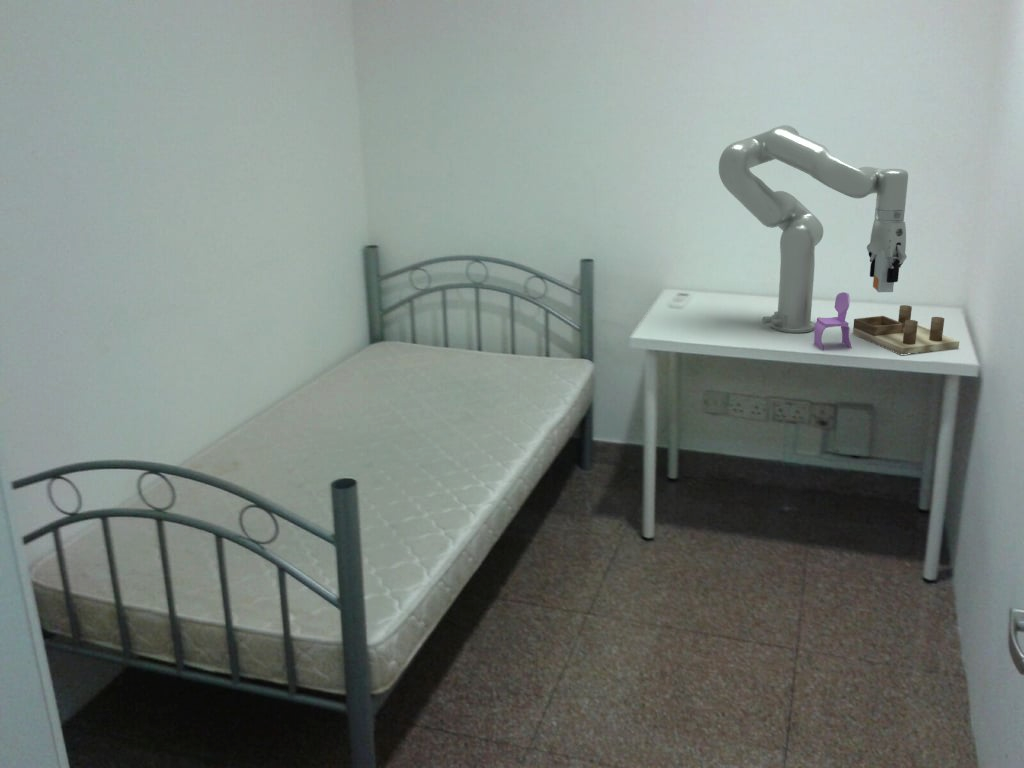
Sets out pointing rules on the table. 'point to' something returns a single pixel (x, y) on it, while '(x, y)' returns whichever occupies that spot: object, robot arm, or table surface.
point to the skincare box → (882, 273)
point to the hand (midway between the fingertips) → (883, 278)
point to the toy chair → (835, 321)
